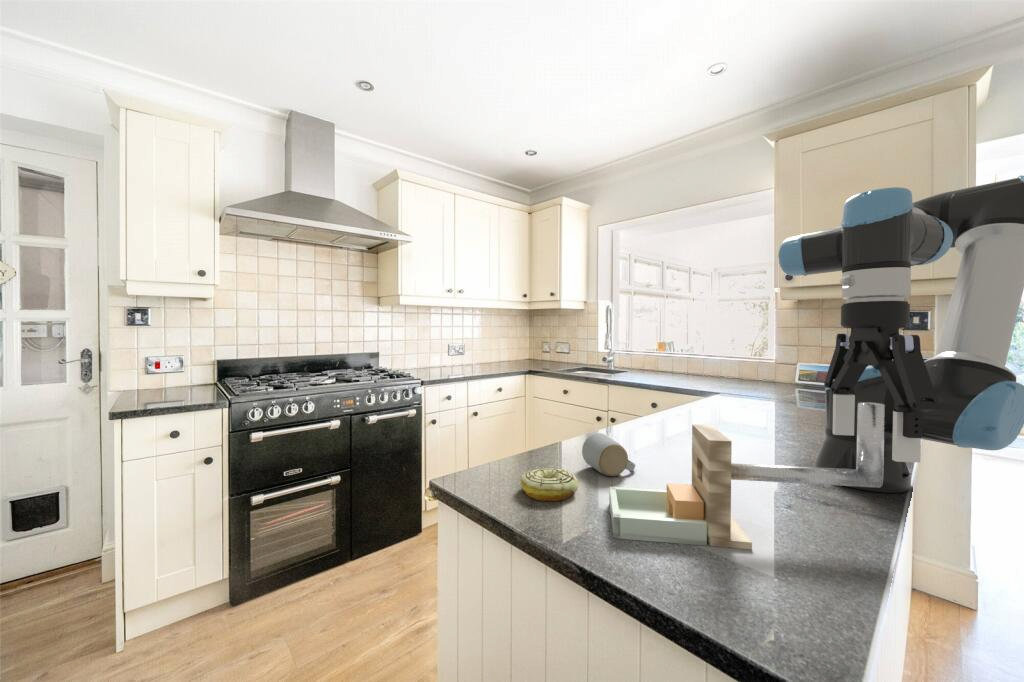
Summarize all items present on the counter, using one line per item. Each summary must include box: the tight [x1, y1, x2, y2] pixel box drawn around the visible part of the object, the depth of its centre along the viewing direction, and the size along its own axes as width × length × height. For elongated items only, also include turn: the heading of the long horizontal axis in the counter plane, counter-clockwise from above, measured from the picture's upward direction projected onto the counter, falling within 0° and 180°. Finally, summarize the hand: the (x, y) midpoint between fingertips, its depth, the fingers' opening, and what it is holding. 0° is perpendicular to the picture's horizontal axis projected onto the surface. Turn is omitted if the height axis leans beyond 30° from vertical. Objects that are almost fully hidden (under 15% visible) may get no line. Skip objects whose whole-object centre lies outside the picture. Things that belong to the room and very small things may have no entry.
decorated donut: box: [520, 467, 579, 502], centre depth 80 cm, size 10×11×4 cm
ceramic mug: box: [581, 432, 636, 477], centre depth 91 cm, size 11×8×8 cm
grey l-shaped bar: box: [731, 402, 885, 488], centre depth 63 cm, size 22×3×12 cm, turn 80°
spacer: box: [666, 482, 704, 521], centre depth 66 cm, size 4×7×4 cm, turn 170°
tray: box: [608, 486, 708, 547], centre depth 67 cm, size 13×12×3 cm
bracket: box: [691, 424, 753, 550], centre depth 65 cm, size 6×12×15 cm, turn 170°
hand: (871, 446), depth 61 cm, fingers open, 13 cm apart
